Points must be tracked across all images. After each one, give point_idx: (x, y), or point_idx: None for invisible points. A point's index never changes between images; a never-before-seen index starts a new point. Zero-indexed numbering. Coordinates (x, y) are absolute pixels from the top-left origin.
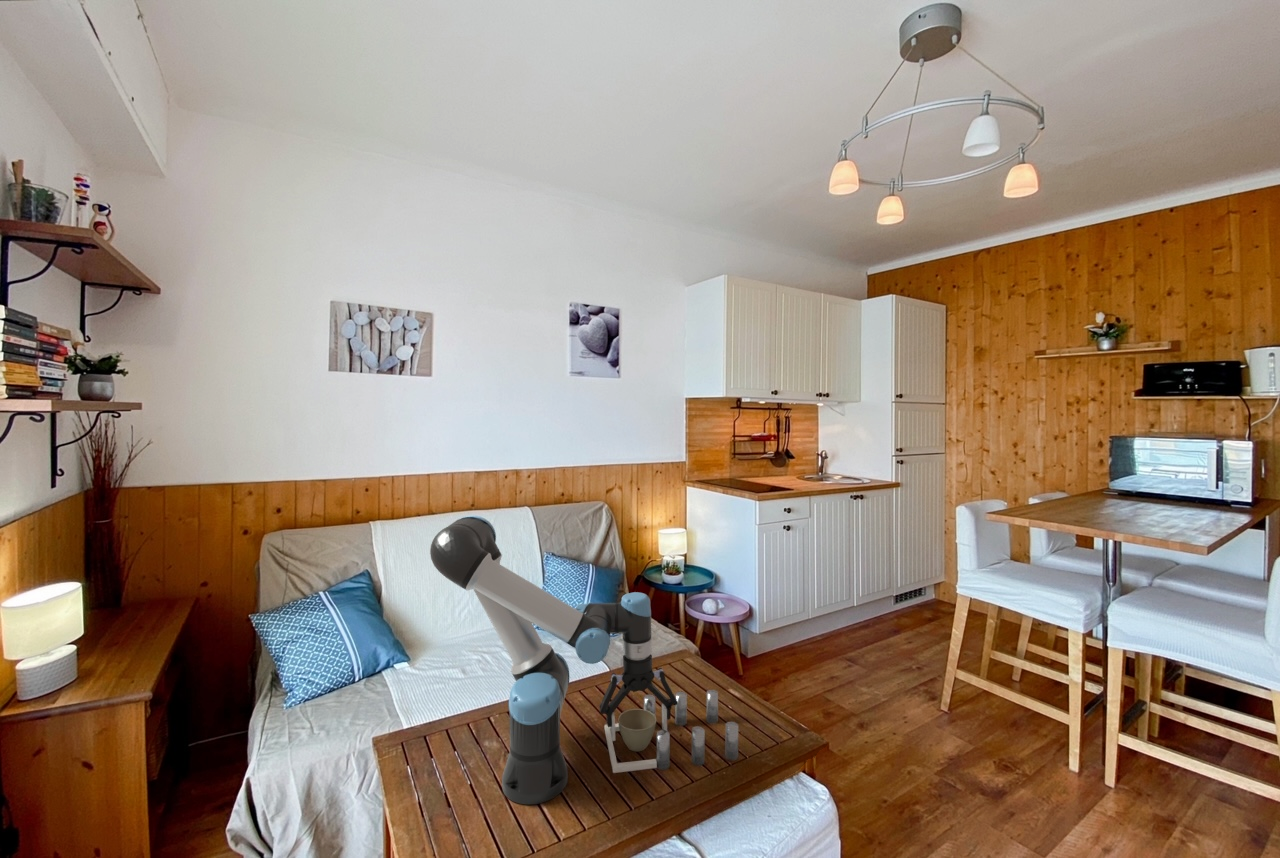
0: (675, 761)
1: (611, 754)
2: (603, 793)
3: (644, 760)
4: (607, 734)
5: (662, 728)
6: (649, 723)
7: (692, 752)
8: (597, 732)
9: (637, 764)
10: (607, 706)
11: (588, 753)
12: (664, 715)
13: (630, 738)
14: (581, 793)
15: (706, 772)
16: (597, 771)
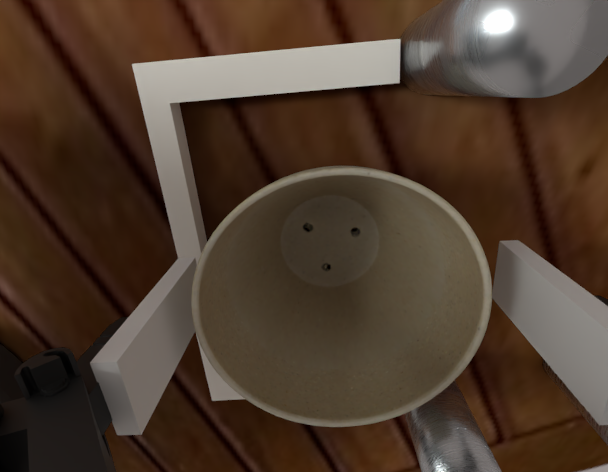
0: (477, 349)
1: None
2: (190, 457)
3: None
4: (164, 173)
5: (499, 250)
6: (429, 224)
7: (573, 401)
8: (107, 98)
9: None
10: (28, 410)
11: (95, 270)
12: (567, 383)
13: (285, 360)
14: (117, 452)
15: (570, 410)
16: None
